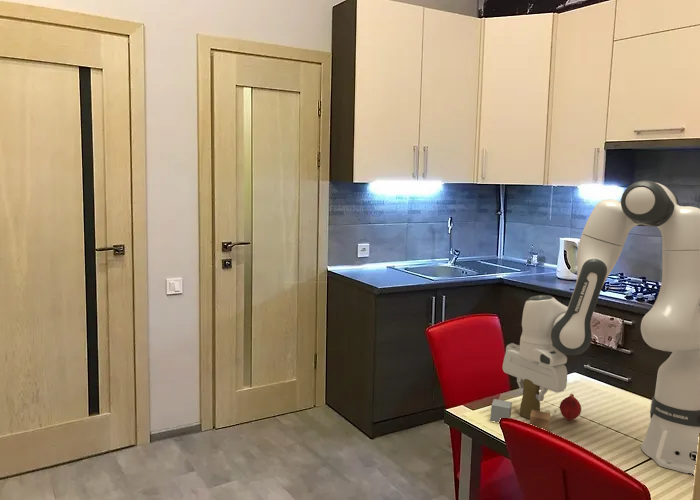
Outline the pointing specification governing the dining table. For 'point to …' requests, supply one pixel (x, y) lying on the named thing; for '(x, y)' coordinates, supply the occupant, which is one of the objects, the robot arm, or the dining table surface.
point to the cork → (529, 399)
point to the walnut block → (540, 419)
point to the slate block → (500, 410)
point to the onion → (570, 408)
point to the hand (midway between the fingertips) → (531, 396)
